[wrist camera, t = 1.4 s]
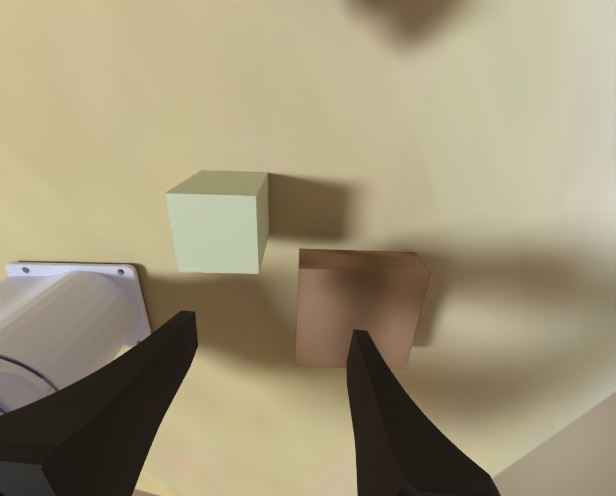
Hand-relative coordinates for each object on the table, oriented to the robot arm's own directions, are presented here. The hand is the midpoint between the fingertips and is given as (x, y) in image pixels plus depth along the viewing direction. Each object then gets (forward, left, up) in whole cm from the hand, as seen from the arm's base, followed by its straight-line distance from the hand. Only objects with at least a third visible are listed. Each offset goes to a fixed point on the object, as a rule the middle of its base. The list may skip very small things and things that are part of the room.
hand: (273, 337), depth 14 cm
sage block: (-3, +3, -10) cm, 11 cm away
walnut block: (+6, -5, -11) cm, 13 cm away
